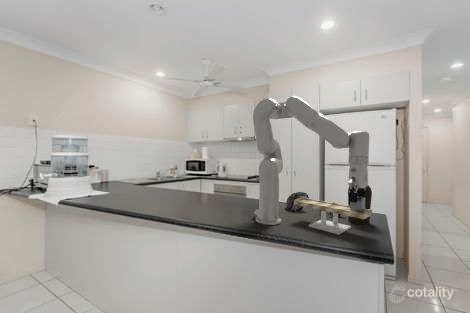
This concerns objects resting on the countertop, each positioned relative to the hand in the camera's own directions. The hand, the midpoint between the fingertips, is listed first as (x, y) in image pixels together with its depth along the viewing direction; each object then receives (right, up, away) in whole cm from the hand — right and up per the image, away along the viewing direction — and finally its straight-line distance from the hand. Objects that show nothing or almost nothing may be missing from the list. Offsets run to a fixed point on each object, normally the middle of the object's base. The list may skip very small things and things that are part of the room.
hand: (357, 200), depth 98 cm
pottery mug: (+2, -14, +29) cm, 32 cm away
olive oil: (+10, -14, +18) cm, 25 cm away
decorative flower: (-15, -14, +41) cm, 45 cm away
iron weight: (0, -5, 0) cm, 5 cm away
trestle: (-8, -14, +9) cm, 18 cm away
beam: (-8, -6, +8) cm, 13 cm away
